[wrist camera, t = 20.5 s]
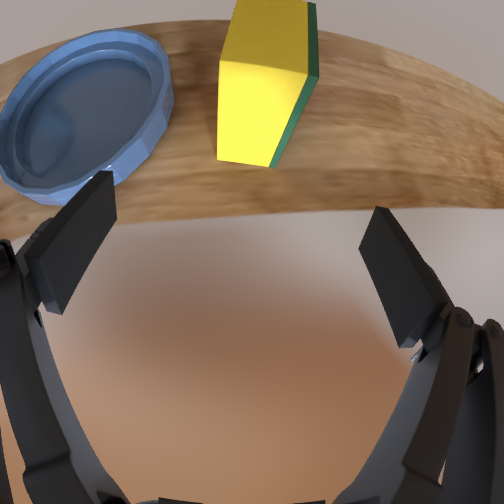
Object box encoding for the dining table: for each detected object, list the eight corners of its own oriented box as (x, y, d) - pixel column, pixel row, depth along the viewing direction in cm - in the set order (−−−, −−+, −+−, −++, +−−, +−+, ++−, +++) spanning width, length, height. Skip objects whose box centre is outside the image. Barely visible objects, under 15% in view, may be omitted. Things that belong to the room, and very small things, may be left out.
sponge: (216, 160, 22) (219, 60, 11) (229, 90, 22) (240, -10, 12) (275, 168, 22) (319, 77, 11) (281, 98, 23) (316, 3, 12)
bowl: (-7, 202, 19) (-28, 191, 15) (51, 60, 21) (40, 42, 18) (149, 215, 20) (137, 202, 17) (193, 50, 23) (191, 25, 19)
